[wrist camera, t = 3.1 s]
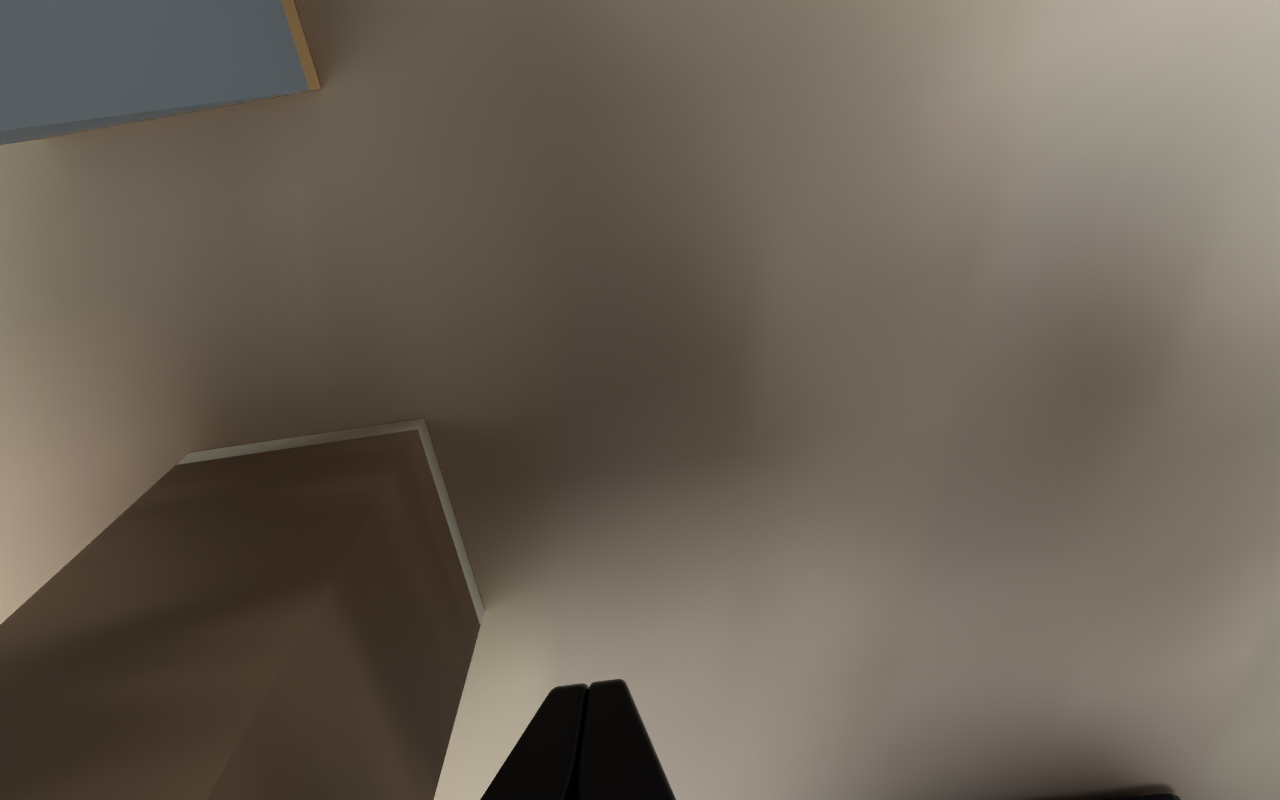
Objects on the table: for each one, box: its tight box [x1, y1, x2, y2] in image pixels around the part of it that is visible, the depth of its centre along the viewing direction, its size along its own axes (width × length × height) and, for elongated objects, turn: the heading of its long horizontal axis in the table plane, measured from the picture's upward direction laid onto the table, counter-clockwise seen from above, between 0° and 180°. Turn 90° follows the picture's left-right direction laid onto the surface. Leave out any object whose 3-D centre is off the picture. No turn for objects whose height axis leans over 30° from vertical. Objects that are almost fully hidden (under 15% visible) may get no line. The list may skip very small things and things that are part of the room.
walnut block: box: [0, 418, 484, 800], centre depth 10 cm, size 4×4×8 cm
